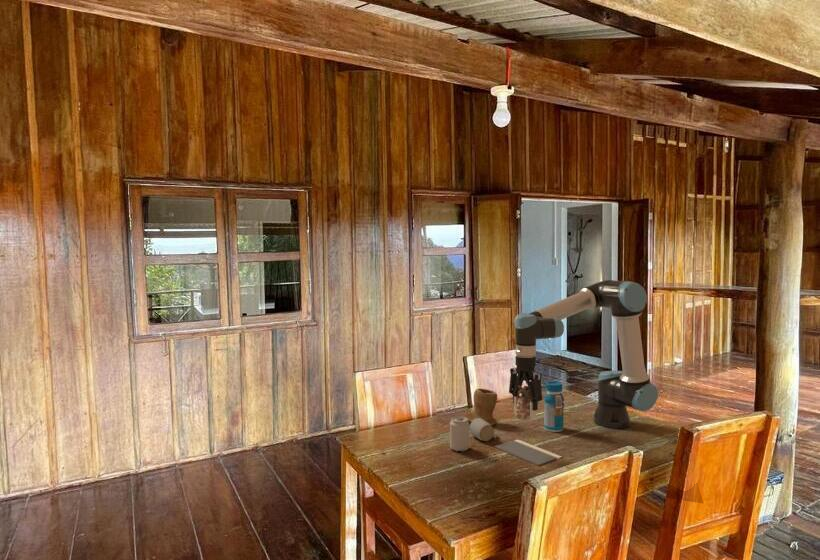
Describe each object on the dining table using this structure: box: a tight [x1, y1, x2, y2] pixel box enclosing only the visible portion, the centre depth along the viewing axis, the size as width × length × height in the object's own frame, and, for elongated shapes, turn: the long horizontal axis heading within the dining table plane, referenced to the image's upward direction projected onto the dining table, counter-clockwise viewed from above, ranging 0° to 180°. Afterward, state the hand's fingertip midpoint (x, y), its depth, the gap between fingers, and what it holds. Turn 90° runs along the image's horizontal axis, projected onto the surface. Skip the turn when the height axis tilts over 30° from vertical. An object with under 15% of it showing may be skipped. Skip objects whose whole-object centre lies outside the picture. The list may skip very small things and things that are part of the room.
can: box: [449, 416, 470, 452], centre depth 208 cm, size 8×8×12 cm
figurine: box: [514, 385, 534, 421], centre depth 202 cm, size 7×7×12 cm
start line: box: [513, 439, 562, 460], centre depth 207 cm, size 2×22×1 cm, turn 35°
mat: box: [494, 440, 558, 467], centre depth 203 cm, size 10×22×1 cm, turn 35°
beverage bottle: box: [543, 381, 565, 433], centre depth 229 cm, size 8×8×20 cm
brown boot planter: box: [459, 388, 498, 426], centre depth 239 cm, size 15×12×15 cm
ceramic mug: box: [469, 418, 498, 442], centre depth 219 cm, size 11×8×8 cm
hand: (525, 415), depth 202 cm, fingers closed on figurine, 7 cm apart
